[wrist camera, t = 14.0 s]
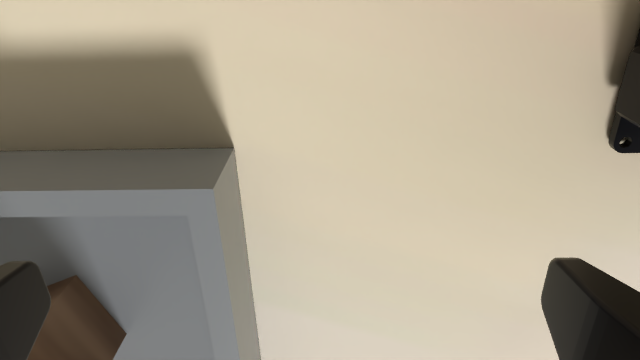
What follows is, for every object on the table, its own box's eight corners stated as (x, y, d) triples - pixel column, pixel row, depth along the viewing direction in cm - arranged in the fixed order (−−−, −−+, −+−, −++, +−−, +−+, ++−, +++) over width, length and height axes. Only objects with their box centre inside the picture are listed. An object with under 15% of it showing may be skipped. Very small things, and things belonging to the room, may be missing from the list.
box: (234, 148, 21) (213, 189, 18) (266, 405, 29) (256, 468, 26) (-137, 153, 22) (-228, 193, 18) (-4, 402, 30) (-50, 463, 27)
